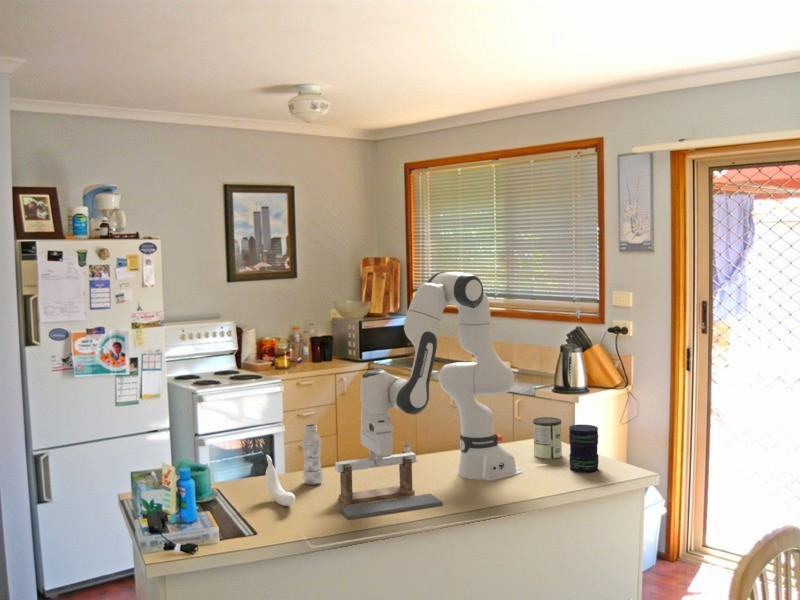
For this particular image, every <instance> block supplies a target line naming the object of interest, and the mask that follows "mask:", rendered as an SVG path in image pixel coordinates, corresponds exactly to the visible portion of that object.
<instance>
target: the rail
mask: <svg viewBox="0 0 800 600" xmlns="http://www.w3.org/2000/svg"><path fill="white" fill-rule="evenodd" d="M405 458H412V464H413V463H416V462H417V461H416V459H417V454H416V453H414V452H413V451H410V453H402V452H401V453H395V454H392V455H391V456H390V457H383V460H382V466H381V467H389V466H396V465H399V464H405ZM375 461H376V457H371V458H370V457H365V458H356V459H349V460H342V461H341V460H340V461H335V462H334V463H335V465H334V467H335V471H336V472H337V473H340V472H345V466H349V465H351V466H352V472H354V471H359V470H367V469H375V468H378V467H377V466H376V465H375ZM381 467H380V468H381Z"/></svg>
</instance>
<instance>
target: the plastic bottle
mask: <svg viewBox="0 0 800 600" xmlns="http://www.w3.org/2000/svg"><path fill="white" fill-rule="evenodd" d="M304 431H305V434H304V435H303V436H302V439H301V447H302V451H303V472H302V481H303V483H304V484H305V485H308V486H316V485H320V484H322V482H323V479H324V478H323V476H324V475H323V470H322V464H321V448H322V439H321V436H320V435H319V434H318V432H317V431H318V427H317V424H313V423H310V424H306V425H305V430H304Z"/></svg>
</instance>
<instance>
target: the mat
mask: <svg viewBox="0 0 800 600" xmlns="http://www.w3.org/2000/svg"><path fill="white" fill-rule="evenodd" d="M443 503H444V502H443V500H440V499H439V498H438V497H436V496H434V494H432V493H426V494H419V495H410V496H406V497H405V496H403V497H396V498H390V499H385V500H384V499H383V500H376V501H369V502H365V503H364V502H363V503H356V504H349V505H343V506H339V507H338V511H339V512H341V514H342V515H343V516H344V517H345V518H346V519H347V520H355V519H359V518H365V517H366V518H368V517H372V516H379V515H386V514H393V513H398V512H399V513H400V512H405V511H412V510H420V509H423V508H424V509H425V508H431V507H432V508H433V507H437V506H443Z"/></svg>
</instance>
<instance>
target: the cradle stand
mask: <svg viewBox="0 0 800 600" xmlns="http://www.w3.org/2000/svg"><path fill="white" fill-rule="evenodd" d="M398 465H399V467H398V468H399V471H398V472H399V485H396V486H389V487H383V488H382V487H381V488H375V489H368V490H362V491H354V492H353V471H352V466H351V465H349V466H345V472H339V475H340V477H339V478H340V479H339V480H340V493H339V494H338V499H339V501H341V502H342V503H343V504H345V505H353V504H360V503H364V502H365V503H367V502H374V501H380V500H384V499H385V498H387V499H393V498H401V497H405V496H406V497H408V496H414V495H415V493H416V492H415V489H413V466H412V465H413V463H412V458H405V464H398ZM392 497H393V498H392ZM379 499H380V500H379ZM385 500H386V499H385Z"/></svg>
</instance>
